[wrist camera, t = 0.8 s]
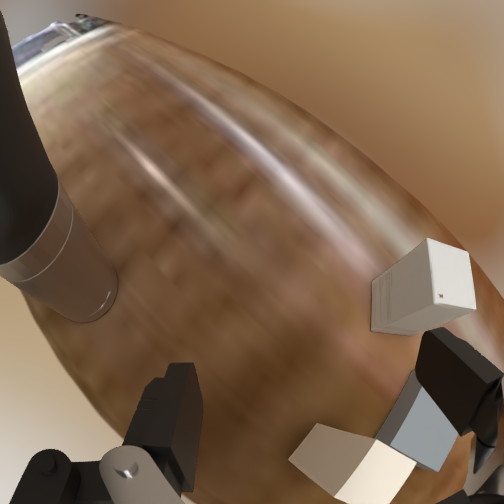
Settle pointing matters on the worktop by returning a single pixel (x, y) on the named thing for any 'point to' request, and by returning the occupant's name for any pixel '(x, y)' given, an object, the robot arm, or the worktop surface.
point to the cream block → (352, 465)
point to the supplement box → (423, 290)
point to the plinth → (418, 427)
